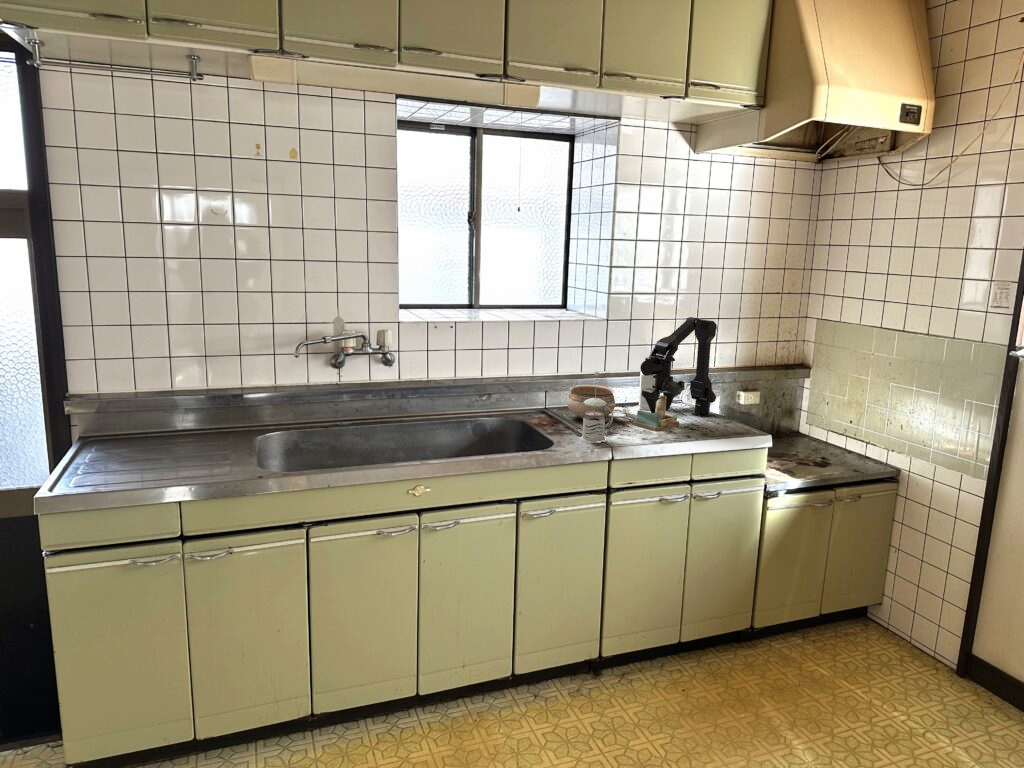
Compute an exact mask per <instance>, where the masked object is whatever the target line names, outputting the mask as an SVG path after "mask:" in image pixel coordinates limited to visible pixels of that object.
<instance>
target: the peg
mask: <svg viewBox="0 0 1024 768" xmlns="http://www.w3.org/2000/svg"><path fill="white" fill-rule="evenodd" d="M659 398H660V399H659V400H658V401H657V403H656V409H655V414H659V415H660V420H663V419H665V414H666V411H667V410H666V399H667V396H664V395H663V394H660V396H659Z"/></svg>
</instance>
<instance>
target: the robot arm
mask: <svg viewBox="0 0 1024 768" xmlns="http://www.w3.org/2000/svg"><path fill="white" fill-rule="evenodd" d="M693 332H694V336H695V338H696V341H697V351H696V353H697V355H696V365H695V366H696V367H695V369H696V370H695V371H696V372H695V376H694V377H693V379H691V380H690V382H689V383H690V384H689V390H690V392H689V393H690V397H691V400H695V403H694V411H693V412H691V415H694V416H698V417H703V418H705V417H709V416H713V413H712V412H710V411H711V409H710V408H711V404H712V403H714V402H716V400H717V396H716V394H715V392H714V390H713V383H712V381H711V379H710V377H709V374H710V373H709V371H710V361H711V359H710V357H711V345H712V341H713V340H714V338H715V337H716V335H717V334H716V333H717V323H716V322H715V321H714V320H708V319H702V318H701V319H700V318H698V317H693V316H689V317H687V318H686V319H685V321H684V322H683V323H682V324H681V325H679V326H678V327H677V328H676V329H675V330H674V331H672V333H671V334H669V335H668V336H664V337H662V338H660V339H658V340H657V341H656V342H655V345H654V346H653V348H652V350H651V351H650V353H649V356H648V357H645V358H644V361H642V363H641V364H640V369H639V370H640V372H642V374H643V375H645V376H649V375H653V378H655V385H652V388H655V389H652V388H646V389H643V390H642V393H641V396H643V398H645V399H646V401H647V403H648V406H649V408H650V410H649V412H651V413H655V409H656V403H657V401H658V400H659V399H660V398H659V396H660V395H661V394H662V395H664V396H667V399H666V411H669V410H670V407H671V405H672V404H673V401H674V398H676V397H677V396H680V395H681V393H682V391H685V389H686V388H685V387H686V386H685V385H686V384H685V381H683V380H679V381H674V377H673V376H674V375H671V373H672V362H675V361H676V359H675V357H674V355H675V354H676V353H677V351H678V350H679V345H680V344H681V343H682V342H683V341H684V340H685V339H686V338H688V337H689V336H690V335H691V334H692V333H693Z"/></svg>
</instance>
